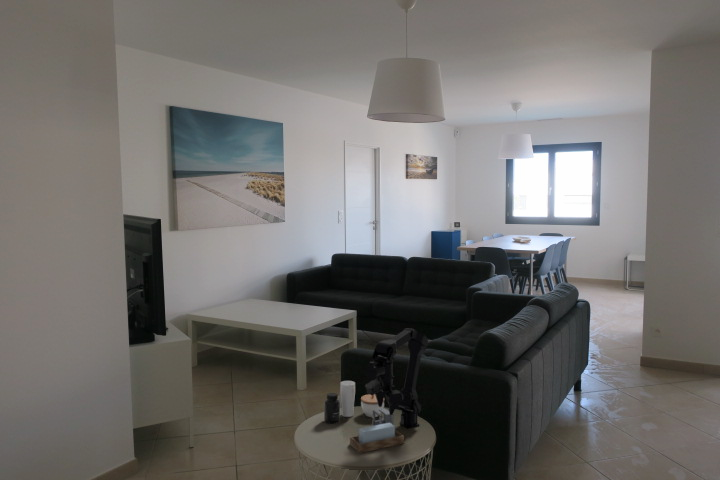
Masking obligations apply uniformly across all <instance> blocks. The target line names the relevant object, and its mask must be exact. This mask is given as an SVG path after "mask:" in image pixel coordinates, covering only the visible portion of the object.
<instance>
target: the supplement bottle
mask: <svg viewBox="0 0 720 480" xmlns="http://www.w3.org/2000/svg"><path fill="white" fill-rule="evenodd" d="M338 398H339V397H338V393H335V392H328V393H327V394H326V400H325V401H324V404H323V405H324V406H323V407H324V408H323V409H324V412H323V420H324V422H325V423H327V424H338V423H339V422H340V414H341V412H340V411H341V410H340V409H341V401H340V399H338Z"/></svg>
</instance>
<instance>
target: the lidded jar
mask: <svg viewBox="0 0 720 480" xmlns="http://www.w3.org/2000/svg"><path fill="white" fill-rule="evenodd" d="M360 406H361V411H362V412H363V413H364V414H365V416H366V417H368V418H373V410H375V411H377V412H378V413H379V414H381V415H382V413H381V412H380V411H379V409H383V408H385V398H384V399H383V403H382V407H379V405H378V402H377V399H376V395H375V394H374V395H370V394H369V393H367V394H365V395H362V396H361V398H360ZM378 417H379V416H378V415H377V414H375V418H378Z"/></svg>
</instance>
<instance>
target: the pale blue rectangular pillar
mask: <svg viewBox="0 0 720 480" xmlns="http://www.w3.org/2000/svg"><path fill="white" fill-rule="evenodd" d="M395 427H396V426H395V425H392V424H391V423H385V424H380V425H374V426H372V425H370V426H365V427H360V428H358V435H359V444H364V443H369V442H373V441H378V440H383V439H388V438H392V437H395V430H396V428H395Z"/></svg>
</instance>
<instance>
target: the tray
mask: <svg viewBox="0 0 720 480" xmlns="http://www.w3.org/2000/svg"><path fill="white" fill-rule="evenodd" d="M404 443H405V435H403V434H402V433H401V432H399V431H398V430H397V429H395V437H392V438H388V439H383V440H378V441H373V442H369V443H364V444H359V434H358V435H354V436H353V435H352V436H349V445H350V446H351V447H352V448H353V449H354V450H355V451H356V452H358V453H359V454H360V453H365V452H370V451H376V450H379V449H383V448H389V447H392V446H397V445H401V444H404Z"/></svg>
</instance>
